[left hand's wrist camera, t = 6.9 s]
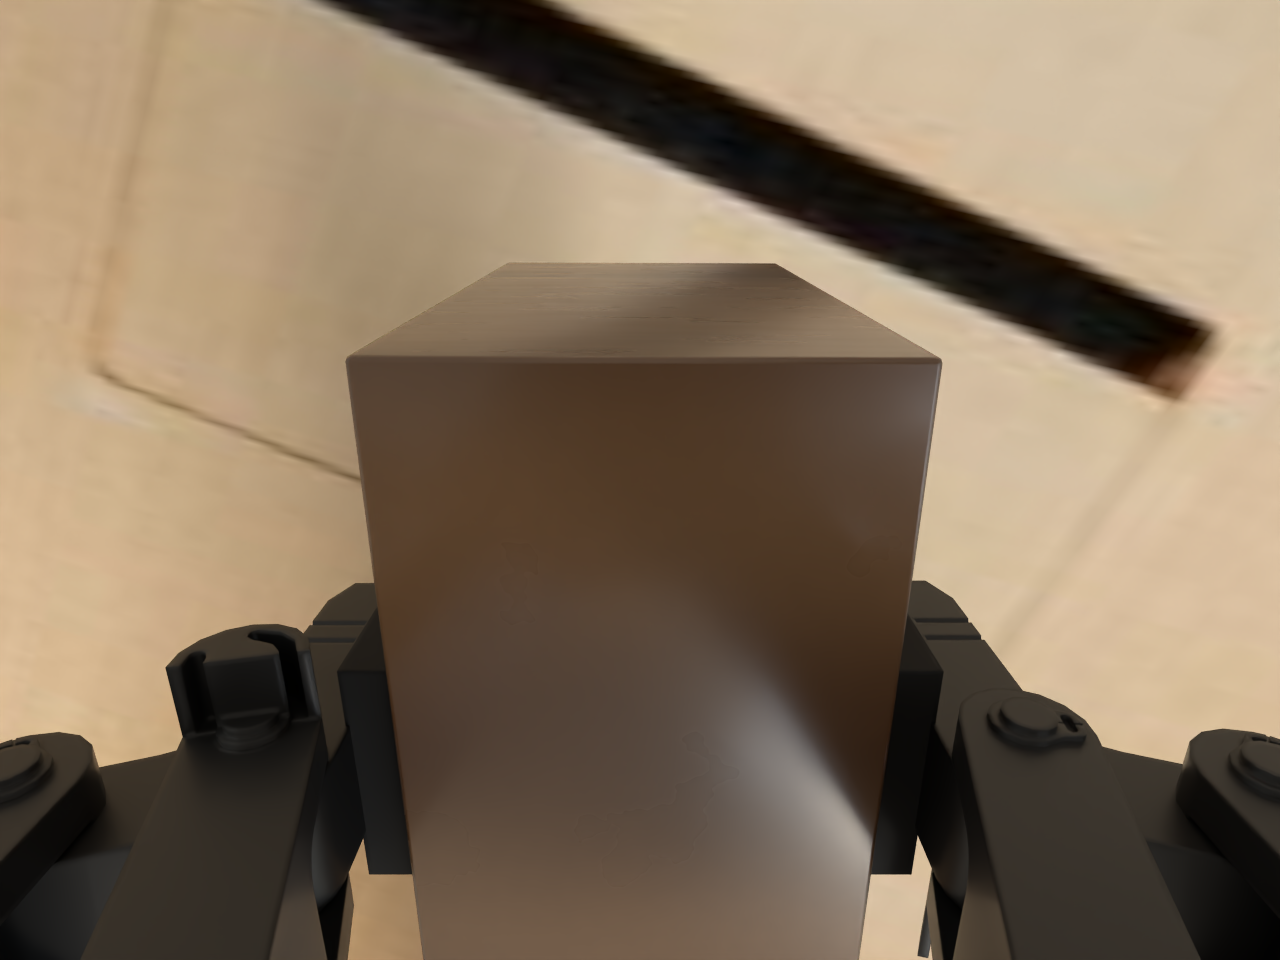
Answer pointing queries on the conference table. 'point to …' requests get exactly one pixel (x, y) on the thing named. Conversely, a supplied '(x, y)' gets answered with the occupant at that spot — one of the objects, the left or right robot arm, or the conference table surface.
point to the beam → (642, 605)
